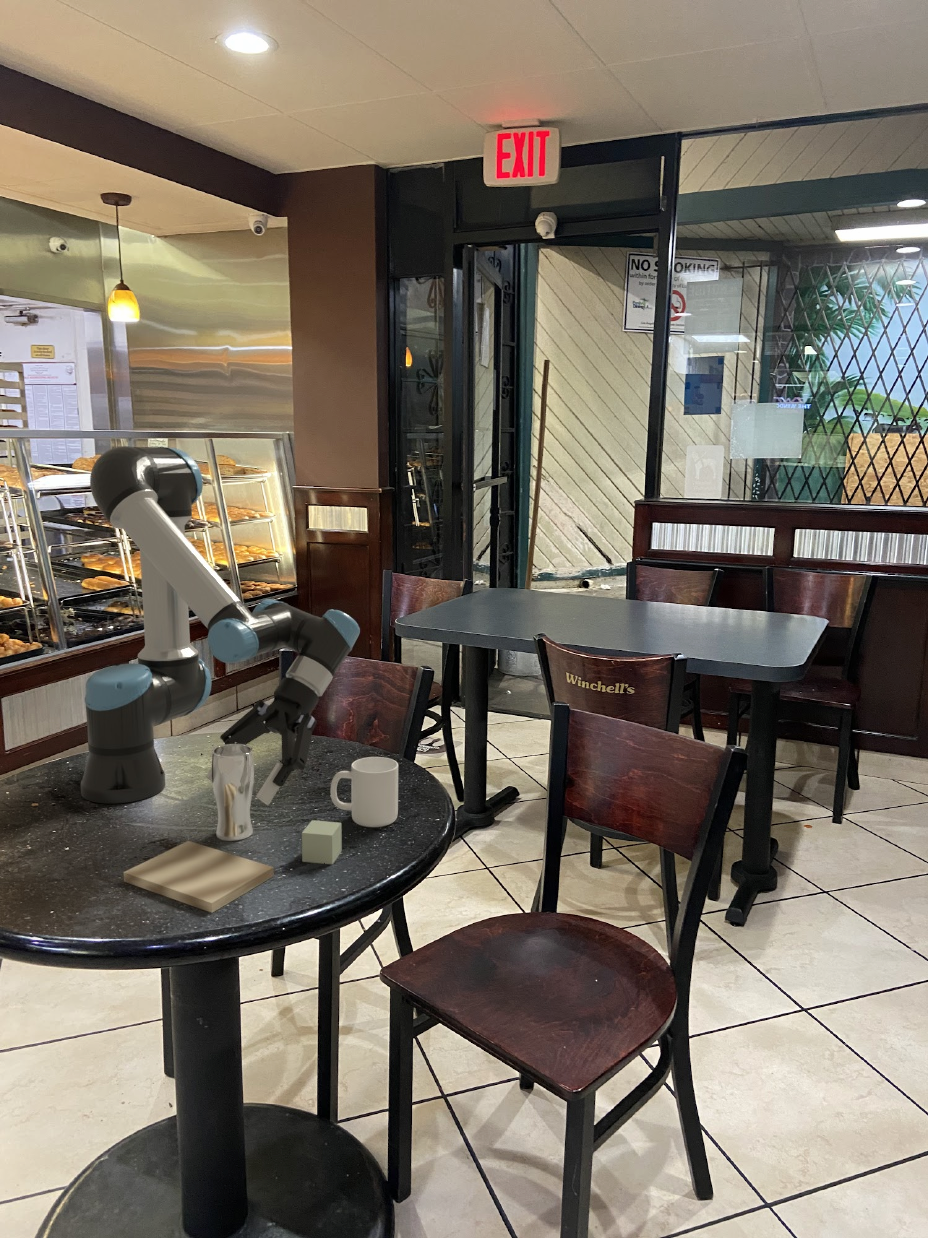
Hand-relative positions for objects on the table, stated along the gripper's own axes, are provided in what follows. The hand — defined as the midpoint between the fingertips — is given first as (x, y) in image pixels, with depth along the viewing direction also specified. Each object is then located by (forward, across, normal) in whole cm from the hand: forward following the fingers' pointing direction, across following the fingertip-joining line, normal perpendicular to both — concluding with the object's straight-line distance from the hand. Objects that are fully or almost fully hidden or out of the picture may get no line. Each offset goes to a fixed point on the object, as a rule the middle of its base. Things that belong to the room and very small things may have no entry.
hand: (236, 791), depth 149 cm
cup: (-8, -11, -20) cm, 24 cm away
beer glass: (+6, +1, -6) cm, 8 cm away
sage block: (+3, -17, -8) cm, 19 cm away
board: (+15, -8, +4) cm, 18 cm away
